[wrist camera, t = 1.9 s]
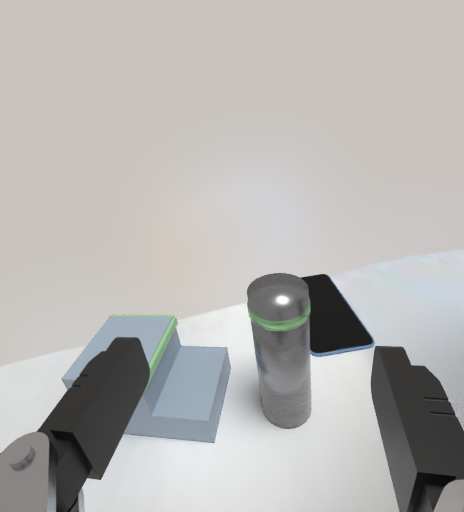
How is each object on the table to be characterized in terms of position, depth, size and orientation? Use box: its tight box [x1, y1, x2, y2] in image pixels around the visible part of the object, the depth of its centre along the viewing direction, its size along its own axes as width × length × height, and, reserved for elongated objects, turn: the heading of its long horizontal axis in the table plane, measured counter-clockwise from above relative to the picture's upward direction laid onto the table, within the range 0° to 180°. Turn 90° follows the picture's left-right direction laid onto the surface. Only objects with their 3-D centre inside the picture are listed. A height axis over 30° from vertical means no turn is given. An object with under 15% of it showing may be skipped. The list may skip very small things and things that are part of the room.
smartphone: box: [301, 274, 375, 357], centre depth 40 cm, size 7×1×15 cm
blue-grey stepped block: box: [62, 315, 231, 443], centre depth 30 cm, size 12×8×7 cm
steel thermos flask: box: [247, 273, 311, 429], centre depth 26 cm, size 5×5×13 cm
